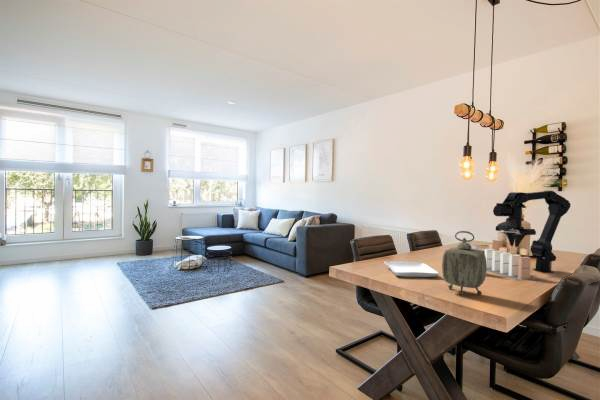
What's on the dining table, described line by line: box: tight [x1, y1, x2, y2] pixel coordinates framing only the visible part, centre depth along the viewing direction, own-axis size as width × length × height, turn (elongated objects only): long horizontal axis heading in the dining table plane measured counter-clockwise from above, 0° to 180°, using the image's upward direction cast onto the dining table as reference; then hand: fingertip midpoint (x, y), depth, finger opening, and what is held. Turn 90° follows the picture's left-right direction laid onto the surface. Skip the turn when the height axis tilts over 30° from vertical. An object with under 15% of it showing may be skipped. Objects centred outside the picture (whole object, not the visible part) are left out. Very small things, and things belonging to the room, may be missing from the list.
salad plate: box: [383, 261, 440, 278], centre depth 155 cm, size 21×21×3 cm
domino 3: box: [500, 252, 513, 273], centre depth 155 cm, size 5×2×10 cm, turn 102°
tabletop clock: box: [441, 230, 487, 296], centre depth 123 cm, size 14×9×25 cm, turn 48°
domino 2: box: [492, 250, 504, 271], centre depth 160 cm, size 5×2×10 cm, turn 102°
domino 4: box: [509, 254, 522, 276], centre depth 150 cm, size 5×2×10 cm, turn 103°
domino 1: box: [484, 248, 496, 269], centre depth 165 cm, size 5×2×10 cm, turn 102°
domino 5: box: [518, 256, 531, 279], centre depth 146 cm, size 5×2×10 cm, turn 103°
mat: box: [486, 268, 538, 281], centre depth 156 cm, size 12×26×1 cm, turn 12°
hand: (514, 246), depth 161 cm, fingers open, 2 cm apart
